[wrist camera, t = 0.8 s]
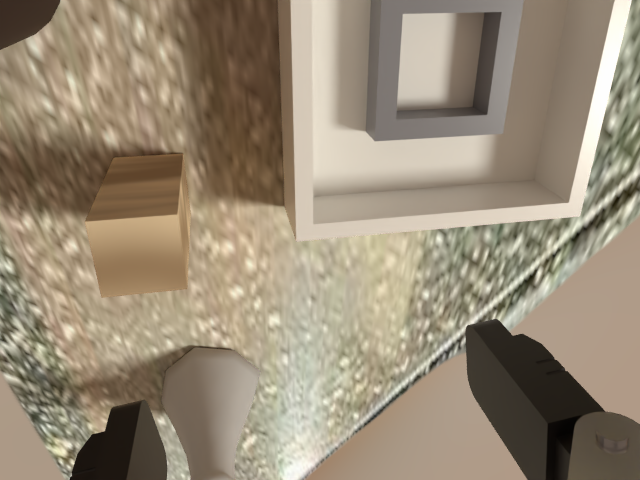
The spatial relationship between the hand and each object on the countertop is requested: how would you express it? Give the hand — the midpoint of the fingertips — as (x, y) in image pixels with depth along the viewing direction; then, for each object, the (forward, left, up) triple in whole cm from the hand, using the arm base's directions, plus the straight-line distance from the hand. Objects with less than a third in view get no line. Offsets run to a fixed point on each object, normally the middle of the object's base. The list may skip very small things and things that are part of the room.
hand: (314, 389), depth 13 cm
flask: (+19, -4, -23) cm, 30 cm away
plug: (+3, -6, -22) cm, 23 cm away
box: (-4, +11, -22) cm, 25 cm away
